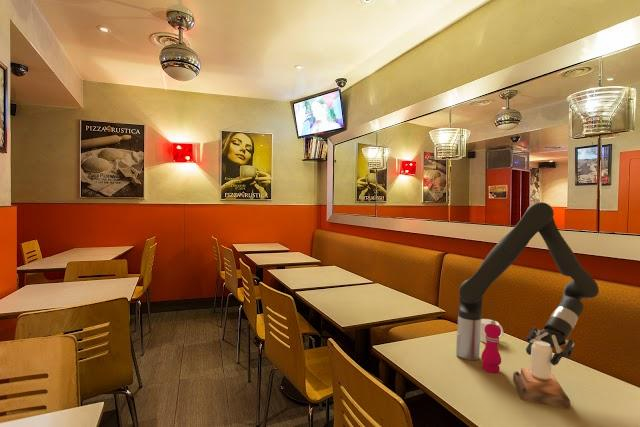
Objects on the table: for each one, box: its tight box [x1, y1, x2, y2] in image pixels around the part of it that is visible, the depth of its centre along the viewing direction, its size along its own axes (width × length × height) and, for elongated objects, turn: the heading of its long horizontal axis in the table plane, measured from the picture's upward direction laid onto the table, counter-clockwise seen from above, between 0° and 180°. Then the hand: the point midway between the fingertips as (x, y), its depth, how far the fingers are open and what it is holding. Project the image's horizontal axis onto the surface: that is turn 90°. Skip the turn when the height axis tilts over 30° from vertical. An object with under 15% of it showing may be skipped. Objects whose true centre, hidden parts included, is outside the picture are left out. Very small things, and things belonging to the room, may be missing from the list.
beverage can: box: [529, 340, 553, 380], centre depth 121 cm, size 6×6×12 cm
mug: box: [480, 318, 504, 344], centre depth 169 cm, size 12×9×9 cm
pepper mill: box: [480, 319, 502, 374], centre depth 138 cm, size 7×7×20 cm
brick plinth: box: [512, 367, 571, 410], centre depth 121 cm, size 14×14×6 cm
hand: (539, 358), depth 121 cm, fingers open, 8 cm apart
